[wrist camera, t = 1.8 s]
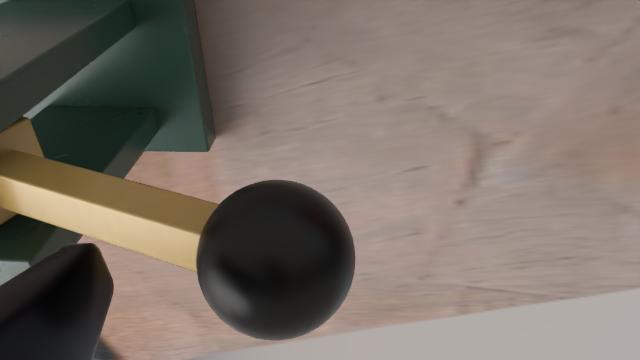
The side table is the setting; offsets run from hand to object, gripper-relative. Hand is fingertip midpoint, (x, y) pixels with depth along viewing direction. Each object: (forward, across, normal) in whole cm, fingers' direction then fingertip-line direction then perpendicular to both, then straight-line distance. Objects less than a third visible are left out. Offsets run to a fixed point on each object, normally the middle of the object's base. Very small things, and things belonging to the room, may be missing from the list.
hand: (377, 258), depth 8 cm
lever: (+4, +6, +1) cm, 7 cm away
